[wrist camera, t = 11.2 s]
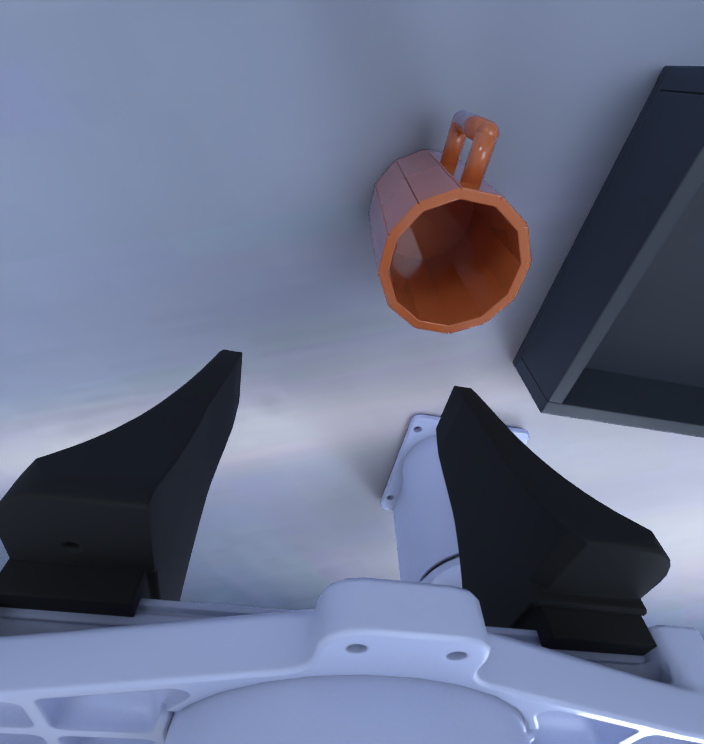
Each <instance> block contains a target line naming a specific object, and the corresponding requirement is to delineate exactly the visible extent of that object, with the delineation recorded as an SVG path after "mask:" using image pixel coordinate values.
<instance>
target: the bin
mask: <svg viewBox="0 0 704 744" xmlns="http://www.w3.org/2000/svg"><path fill="white" fill-rule="evenodd" d="M513 364H514V366H515V367H516V369H517V371H518V373H519V375H520V376H521V378H522V380H523V382H524V384H525V385H526V387H527V389H528V391H529V393H530V394H531V396H532V398H533V400H534V401H535V403H536V405H537V407H538V409H539V410H540V412H541V413H545V414H552V415H558V416H565V417H571V418H578V419H584V420H591V421H597V422H604V423H611V424H617V425H624V426H630V427H637V428H643V429H650V430H657V431H663V432H670V433H676V434H683V435H689V436H696V437H702V438H704V66H665V67H664V69H663V70H662V72H661V74H660V76H659V78H658V80H657V82H656V84H655V86H654V88H653V90H652V92H651V94H650V96H649V98H648V100H647V102H646V104H645V106H644V108H643V109H642V111H641V113H640V115H639V117H638V119H637V121H636V123H635V125H634V127H633V129H632V131H631V133H630V135H629V137H628V139H627V141H626V143H625V145H624V147H623V149H622V150H621V152H620V154H619V156H618V158H617V160H616V162H615V164H614V166H613V168H612V170H611V172H610V174H609V176H608V178H607V180H606V182H605V184H604V186H603V188H602V190H601V191H600V193H599V195H598V197H597V199H596V201H595V203H594V205H593V207H592V209H591V211H590V213H589V215H588V217H587V219H586V221H585V223H584V225H583V227H582V229H581V230H580V232H579V234H578V236H577V238H576V240H575V242H574V244H573V246H572V248H571V250H570V252H569V254H568V256H567V258H566V260H565V262H564V264H563V266H562V268H561V270H560V271H559V273H558V275H557V277H556V279H555V281H554V283H553V285H552V287H551V289H550V291H549V293H548V295H547V297H546V299H545V301H544V303H543V305H542V307H541V309H540V310H539V312H538V314H537V316H536V318H535V320H534V322H533V324H532V326H531V328H530V330H529V332H528V334H527V336H526V338H525V340H524V342H523V344H522V346H521V348H520V350H519V351H518V353H517V355H516V357H515V359H514V361H513Z"/></svg>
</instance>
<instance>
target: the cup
mask: <svg viewBox="0 0 704 744" xmlns="http://www.w3.org/2000/svg"><path fill="white" fill-rule="evenodd" d="M498 135H499V128H498V126H497V124H496V123H494V122H492V121H490V120H488V119H485V118H483V117H480V116H478V115H475V114H473V113H470V112H468V111H465V110H460V111H458V112H457V113H456V114H455V115H454V116H453V119H452V122H451V126H450V129H449V133H448V136H447V139H446V143H445V146H444V150H443V153H441V152H437V151H433V150H428V149H426V150H425V149H424V150H421V151H419V152H416V153H413V154H410V155H408V156H405V157H402V158H399V159H397V161H394V163H393V164H392V165H391V166H390V167H389V168H388V170H387V171H386V172H385V173H384V174H383V175H382V177H381V178H380V179H379V180H378V181H377V182H376V185H375V186H374V191H373V196H372V200H371V205H370V209H369V220H370V226H371V232H372V239H373V245H374V251H375V257H376V264H377V270H378V275H379V279H380V282H381V285H382V288H383V291H384V294H385V297H386V301H387V304H388V306H389V307H390V308H391V309H392V310H393V311H395V312H396V313H397V314H398V315H399V316H401V317H402V318H403V319H404V320H406V321H407V322H408V323H409V324H410V325H412V326H413V327H415V328H418V329H424V330H430V331H436V332H441V333H447V334H448V333H454V332H457V331H461V330H464V329H468V328H471V327H475V326H478V325H482V324H484V322H485V323H486V322H487V321H489V320H490V319H491V318H492V317H493V316H495V315H496V314H497V313H498V312H499V311H501V310H502V309H503V308H504V307H505V306H507V305H508V304H509V303H510V302H511V301H513V300H514V298H515V297H516V295H517V293H518V291H519V289H520V286H521V284H522V282H523V280H524V278H525V276H526V274H527V271H528V269H529V267H530V265H531V264H530V263H531V253H530V242H529V231H528V226H527V223H526V222H525V221H524V220H523V219H522V217H521V216H520V215H519V214H518V213H517V212H516V211H515V210H514V208H513V207H512V206H511V205H510V204H509V203H508V202H507V200H506V199H505V198H504V197H503V196H502V195H501V194H499V193H498V192H497V191H496V190H495V189H493V188H492V187H491V186H490V185H489V184H488V183H486V182H485V181H484V180H483V178H484V175H485V172H486V169H487V167H488V164H489V161H490V158H491V155H492V153H493V150H494V147H495V144H496V141H497V139H498ZM466 137H468V138H470V139H471V140H473V142H472V145H471V148H470V152H469V155H468V158H467V161H466V164H464V163H463V162H462V161H461V160H459V158H460V155H461V152H462V149H463V145H464V142H465V139H466Z"/></svg>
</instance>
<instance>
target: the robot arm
mask: <svg viewBox="0 0 704 744" xmlns="http://www.w3.org/2000/svg"><path fill="white" fill-rule="evenodd" d="M241 366H242V352H235V351H229V350H222V351H220V352H219V353H218V354H217V355H216V356H215V357H214V358H213V359H212V360H211V361H210V362H209V363H208V364H207V365H206V366H205V367H204V368H203V369H202V370H201V371H200V372H198V373H197V374H196V375H195V376H194V377H193V378H192V379H190V380H189V381H188V382H187V383H186V384H185V385H183V386H182V387H181V388H179V389H178V390H177V391H176V392H174V393H173V394H172V395H170V396H169V397H168V398H166V399H165V400H163V401H162V402H161V403H159V404H158V405H156V406H155V407H153V408H152V409H150V410H148V411H147V412H145V413H144V414H142V415H140V416H138V417H137V418H135V419H133V420H131V421H129V422H127V423H125V424H123V425H121V426H119V427H118V428H116V429H114V430H111V431H109V432H107V433H105V434H103V435H100V436H98V437H96V438H93V439H91V440H88V441H86V442H83V443H81V444H78V445H76V446H73V447H70V448H67V449H64V450H61V451H58V452H55V453H52V454H49V455H46V456H43V457H40V458H37V459H35V461H34V462H33V463H32V464H31V465H30V466H29V467H28V468H27V469H26V470H25V471H24V472H23V473H22V474H21V476H20V477H19V478H18V479H17V480H16V482H15V483H14V484H13V485H12V487H11V488H10V489H9V491H8V492H7V493H6V494H5V496H4V497H3V498H2V500H1V501H0V538H1V540H2V543H3V545H4V547H5V549H6V551H7V553H8V555H9V557H10V559H9V560H8V562H7V563H6V564H5V566H4V567H3V569H2V570H1V572H0V744H704V640H703V638H702V637H701V635H700V633H699V632H698V630H697V629H694V628H689V627H678V626H666V625H656V626H652V627H649V628H647V626H646V624H645V622H644V620H643V618H642V617H641V615H642V616H644V615H645V614H646V611H647V610H646V608H645V606H644V604H643V602H642V601H641V598H642V597H643V596H644V595H645V594H647V593H648V592H649V591H650V590H651V589H652V588H654V587H655V586H656V585H657V584H658V583H660V582H661V581H662V580H663V578H664V577H665V576H666V575H667V573H668V571H669V568H670V559H669V557H668V556H667V554H666V553H665V551H664V549H663V548H662V546H661V545H660V543H659V542H658V540H657V539H656V537H655V536H654V534H653V532H652V531H650V530H649V529H647V528H645V527H643V526H641V525H639V524H637V523H635V522H634V521H632V520H630V519H628V518H626V517H624V516H622V515H621V514H619V513H617V512H615V511H613V510H612V509H610V508H609V507H607V506H605V505H604V504H602V503H600V502H599V501H597V500H595V499H594V498H592V497H591V496H589V495H588V494H586V493H585V492H583V491H582V490H580V489H579V488H578V487H576V486H575V485H573V484H572V483H571V482H569V481H568V480H566V479H565V478H564V477H562V476H561V475H560V474H558V473H557V472H556V471H555V470H553V469H552V468H551V467H550V466H549V465H547V464H546V463H545V462H544V461H542V460H541V459H540V458H539V457H538V456H537V455H536V454H534V453H533V452H532V451H531V450H530V449H529V448H528V447H527V446H526V445H525V444H526V443H527V441H528V440H529V437H530V436H529V433H528V432H527V431H526V430H524V429H518V428H511V427H507V426H506V425H505V424H504V423H503V422H502V421H501V420H500V419H499V418H498V417H497V415H496V414H495V413H494V412H493V411H492V410H491V409H490V408H489V407H488V406H487V404H486V403H485V402H484V401H483V400H482V399H481V398H480V397H479V396H478V395H477V394H476V393H475V392H474V391H473V390H472V389H471V388H465V387H459V386H454V388H453V390H452V392H451V395H450V397H449V399H448V402H447V404H446V406H445V409H444V411H443V413H442V415H441V417H436V416H429V415H422V414H418V415H415V416H414V417H413V418H412V420H411V423H410V425H409V428H408V430H407V433H406V436H405V438H404V441H403V444H402V446H401V449H400V451H399V454H398V457H397V459H396V462H395V465H394V467H393V470H392V472H391V475H390V478H389V480H388V483H387V486H386V488H385V491H384V493H383V496H382V499H381V501H380V505H381V508H382V509H385V510H392V511H393V513H394V523H395V532H396V541H397V550H398V559H399V569H400V578H401V581H397V580H386V579H375V578H346V579H344V580H341V581H338V582H336V583H333V584H331V585H329V586H328V587H327V588H326V589H325V590H324V592H323V593H322V594H321V595H320V596H319V598H318V601H317V605H316V608H315V609H306V610H294V611H292V610H280V609H267V608H255V607H243V606H231V605H218V604H206V603H194V602H182V601H180V597H181V593H182V589H183V585H184V580H185V577H186V573H187V569H188V565H189V561H190V557H191V553H192V549H193V545H194V541H195V537H196V533H197V530H198V526H199V522H200V518H201V515H202V511H203V507H204V504H205V500H206V496H207V493H208V490H209V487H210V484H211V481H212V479H213V476H214V474H215V471H216V469H217V466H218V464H219V461H220V459H221V456H222V453H223V451H224V448H225V446H226V443H227V441H228V438H229V435H230V433H231V430H232V428H233V424H234V420H235V416H236V412H237V408H238V404H239V397H240V381H241ZM415 427H419V428H415Z"/></svg>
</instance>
